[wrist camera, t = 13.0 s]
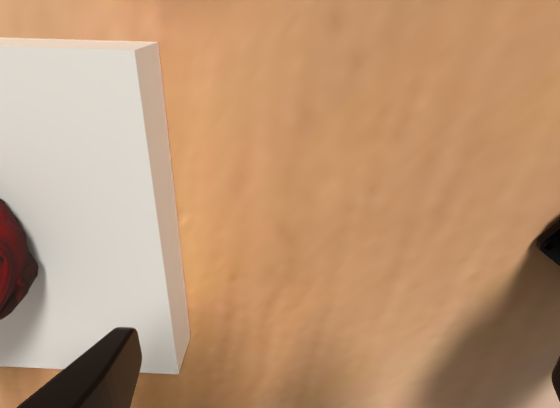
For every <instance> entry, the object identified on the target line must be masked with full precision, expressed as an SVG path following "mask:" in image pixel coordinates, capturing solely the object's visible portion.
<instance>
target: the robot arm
mask: <svg viewBox="0 0 560 408" xmlns="http://www.w3.org/2000/svg"><path fill="white" fill-rule="evenodd" d="M549 242H550V244H548V245H546V244H547V243H549ZM536 245H537V247H538V248H539V249H540V250H541V251H542V252H543V253H544V254H545V255H547V256H548V257H549V258H550V259H552V260H553V261H554V262H556V263H557V264H558V265H559V266H560V221H559V222H558V223H557V224H556V225H554V226H553V227H552V228H551V229H549V230H548V231H547V232H546V233H544V234H543V235H542V236H541V237H540V238H539V239H538V240H537V242H536ZM545 245H546V246H545ZM141 364H142V352H141V347H140V342H139V337H138V332H137V330H136V329H135V328H133V327H116V328H114V329H113V330H112V331H110V332H109V333H108V334H107V335H105V336H104V337H103V338H102V339H101V340H99V341H98V342H97V343H96V344H94V345H93V346H92V347H91V348H89V349H88V350H87V351H86V352H84V353H83V354H82V355H81V356H80V357H78V358H77V359H76V360H75V361H73V362H72V363H71V364H70V365H68V366H67V367H66V368H65V369H63V370H62V371H61V372H60V373H59V374H57V375H56V376H55V377H54V378H52V379H51V380H50V381H49V382H47V383H46V384H45V385H44V386H43V387H41V388H40V389H39V390H38V391H36V392H35V393H34V394H33V395H31V396H30V397H29V398H28V399H26V400H25V401H24V402H23V403H22V404H20V405H19V406H18V407H17V408H130V405H131V401H132V398H133V394H134V390H135V387H136V383H137V379H138V376H139V372H140V368H141ZM552 383H553V386H554V389H555V391H556V394H557V396H558V399H559V401H560V357H559V359H558V361H557V363H556V365H555V367H554V369H553V371H552Z"/></svg>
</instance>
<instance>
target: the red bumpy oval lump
mask: <svg viewBox="0 0 560 408" xmlns="http://www.w3.org/2000/svg"><path fill="white" fill-rule="evenodd" d="M38 268H39V266H38V263H37V261H36V260H35V259H34V257H33V256H32V254H31V252H30V251H29V248H28V245H27V237H26V234H25V232H24V231H23V229H22V227H21V225H20V224H19V221H18V219H17V218H16V217H15V216H14V215H13V213H12V212H11V211H10V210H9V208H8V207H7V206H6V204H5V201H3V200H2V199H0V320H1V319H3V318H5V317H6V316H8V315H9V314H10V313H12V312H13V310H14V309H15V308H16V307H17V306H18V304H19V303H20V302H21V301H22V300H23V298H24V297H25V296H26V295H27V294H28V291H29V289H30V287H31V285H32V284H33V282H34V280H35V279H36V277H37V276H38Z"/></svg>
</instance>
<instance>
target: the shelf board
mask: <svg viewBox="0 0 560 408" xmlns="http://www.w3.org/2000/svg"><path fill="white" fill-rule="evenodd" d="M0 199H2V200H3V201H5V204H6V206H7V207H8V208H9V210H10V211H11V212H12V213H13V215H14V216H15V217H16V218H17V219H18V221H19V224H20V225H21V227H22V229H23V231H24V232H25V234H26V237H27V245H28V248H29V251H30V252H31V254H32V256H33V257H34V259H35V260H36V261H37V263H38V266H39V268H38V276H37V277H36V279H35V280H34V282H33V284H32V285H31V287H30V289H29V291H28V294H27V295H26V296H25V297H24V298H23V300H22V301H21V302H20V303H19V304H18V306H17V307H16V308H15V309H14V310H13V312H12V313H10V314H9V315H8V316H6V317H5V318H3V319H1V320H0V366H7V367H29V368H51V369H65V368H66V367H67V366H68V365H70V364H71V363H72V362H73V361H75V360H76V359H77V358H78V357H80V356H81V355H82V354H83V353H84V352H86V351H87V350H88V349H89V348H91V347H92V346H93V345H94V344H96V343H97V342H98V341H99V340H101V339H102V338H103V337H104V336H105V335H107V334H108V333H109V332H110V331H112V330H113V329H114V328H116V327H133V328H135V329H136V330H137V332H138V337H139V342H140V347H141V352H142V364H141V368H140V372H139V373H159V374H179V372H180V368H181V365H182V362H183V359H184V355H185V352H186V349H187V346H188V343H189V339H190V327H189V318H188V309H187V300H186V291H185V282H184V272H183V263H182V254H181V245H180V236H179V227H178V218H177V209H176V200H175V191H174V181H173V172H172V163H171V154H170V145H169V136H168V127H167V118H166V109H165V100H164V91H163V81H162V72H161V63H160V54H159V45H158V42H143V41H107V40H72V39H36V38H0Z"/></svg>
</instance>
